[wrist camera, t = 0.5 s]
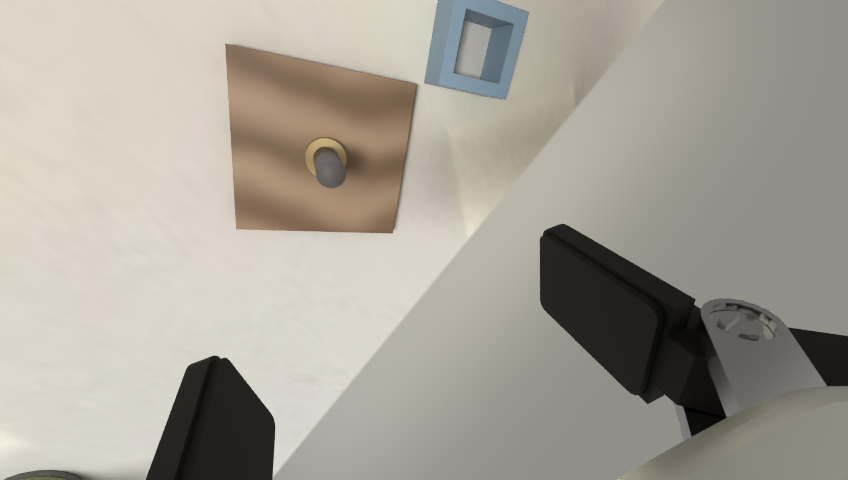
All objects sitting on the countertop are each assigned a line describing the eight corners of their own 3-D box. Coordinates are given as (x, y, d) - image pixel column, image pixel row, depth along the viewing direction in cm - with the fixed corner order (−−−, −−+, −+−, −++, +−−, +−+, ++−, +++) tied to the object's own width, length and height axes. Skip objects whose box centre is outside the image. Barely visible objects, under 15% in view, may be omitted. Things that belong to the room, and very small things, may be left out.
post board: (228, 44, 27) (207, 37, 20) (411, 83, 33) (439, 87, 26) (238, 223, 33) (225, 259, 27) (389, 228, 39) (407, 258, 33)
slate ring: (439, -5, 30) (456, -14, 27) (505, 17, 33) (529, 12, 29) (424, 82, 33) (438, 84, 30) (486, 96, 36) (505, 99, 32)
